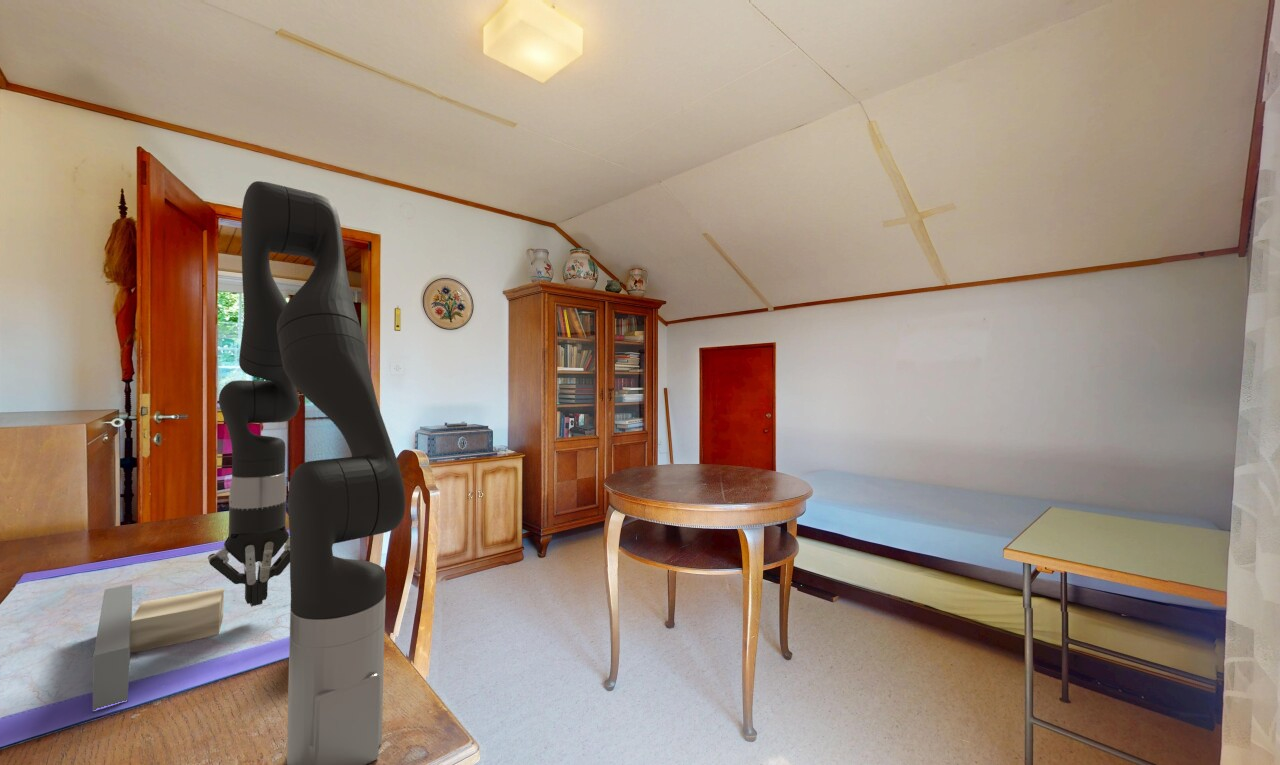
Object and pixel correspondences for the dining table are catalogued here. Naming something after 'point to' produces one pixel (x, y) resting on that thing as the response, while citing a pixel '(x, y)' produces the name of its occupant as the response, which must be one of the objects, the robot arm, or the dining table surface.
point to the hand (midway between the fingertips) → (256, 603)
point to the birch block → (177, 619)
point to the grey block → (113, 648)
